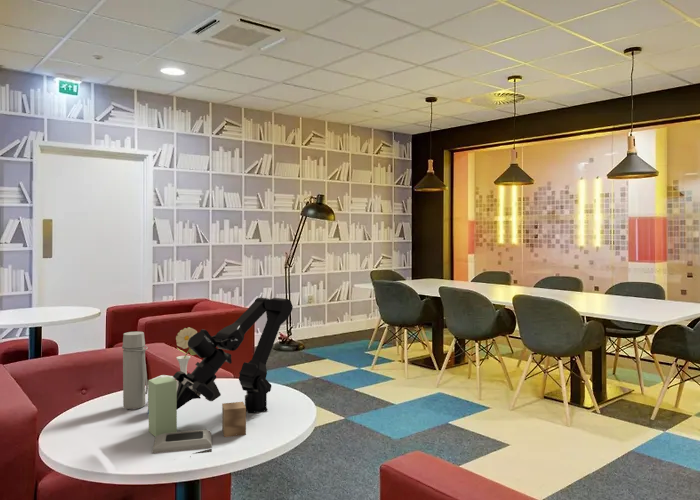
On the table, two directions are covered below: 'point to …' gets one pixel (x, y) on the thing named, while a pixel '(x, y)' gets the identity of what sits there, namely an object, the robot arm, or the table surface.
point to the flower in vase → (183, 342)
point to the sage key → (162, 405)
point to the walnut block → (233, 419)
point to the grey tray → (183, 441)
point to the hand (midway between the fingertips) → (173, 409)
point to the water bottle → (134, 370)
